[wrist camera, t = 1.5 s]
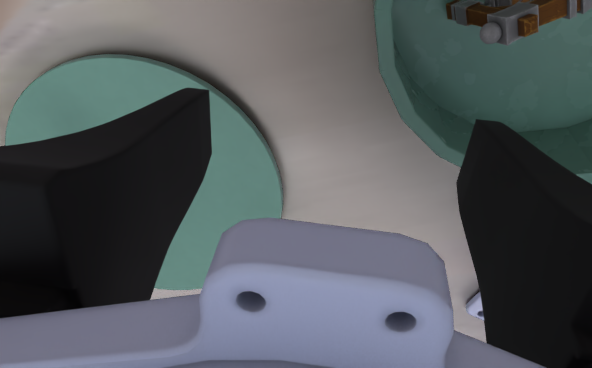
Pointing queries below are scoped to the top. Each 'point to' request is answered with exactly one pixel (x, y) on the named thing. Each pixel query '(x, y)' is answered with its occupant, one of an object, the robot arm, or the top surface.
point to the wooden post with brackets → (512, 16)
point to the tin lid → (135, 95)
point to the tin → (488, 81)
